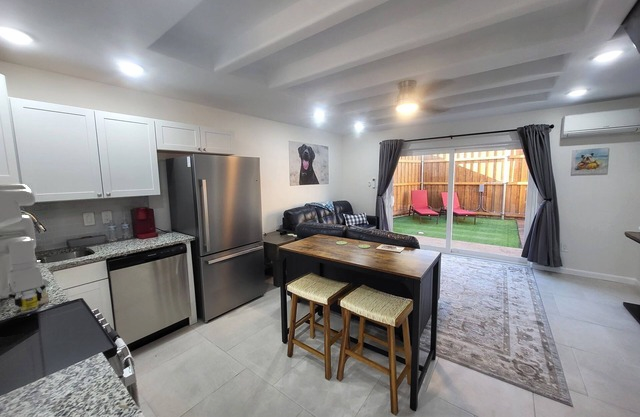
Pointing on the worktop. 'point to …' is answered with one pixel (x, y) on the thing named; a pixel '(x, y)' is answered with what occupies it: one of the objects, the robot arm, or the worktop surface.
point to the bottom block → (44, 298)
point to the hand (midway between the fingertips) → (29, 302)
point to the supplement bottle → (28, 301)
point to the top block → (42, 291)
